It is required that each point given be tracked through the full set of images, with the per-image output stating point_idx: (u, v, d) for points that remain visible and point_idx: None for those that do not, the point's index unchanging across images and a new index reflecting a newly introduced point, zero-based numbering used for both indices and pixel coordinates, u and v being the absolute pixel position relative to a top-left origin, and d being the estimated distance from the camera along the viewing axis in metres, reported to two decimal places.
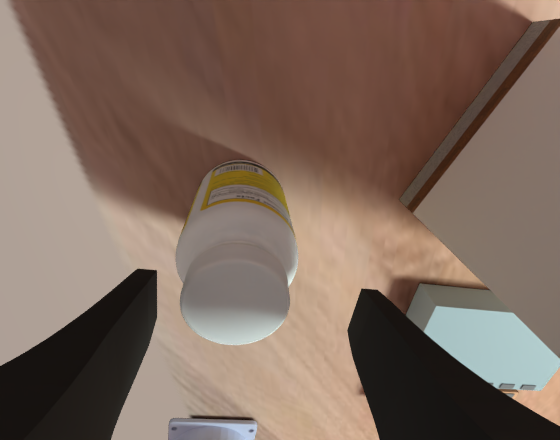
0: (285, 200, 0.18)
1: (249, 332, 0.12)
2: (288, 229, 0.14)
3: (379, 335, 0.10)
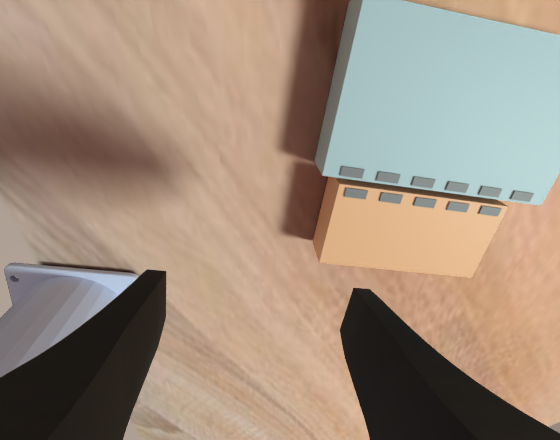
0: None
1: None
2: None
3: (370, 334, 0.10)
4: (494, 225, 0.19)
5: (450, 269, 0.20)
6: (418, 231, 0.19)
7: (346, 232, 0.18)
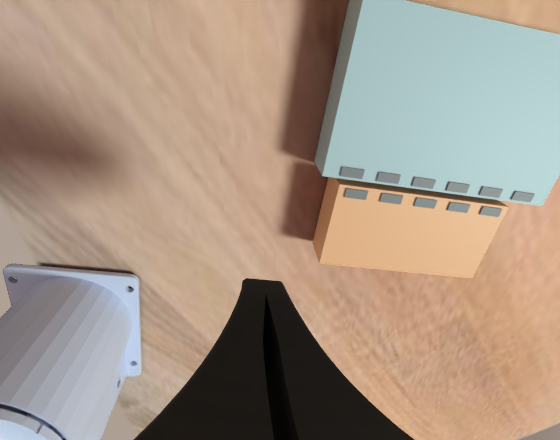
0: None
1: None
2: None
3: (266, 327, 0.09)
4: (494, 225, 0.19)
5: (451, 270, 0.20)
6: (419, 232, 0.19)
7: (346, 233, 0.18)
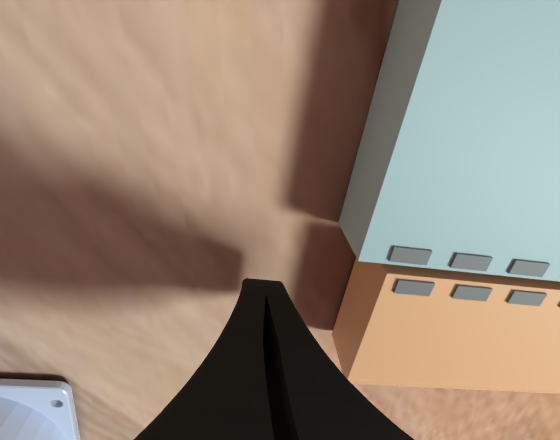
0: None
1: None
2: None
3: (266, 327, 0.09)
4: None
5: (547, 385, 0.13)
6: (508, 337, 0.11)
7: (393, 342, 0.11)
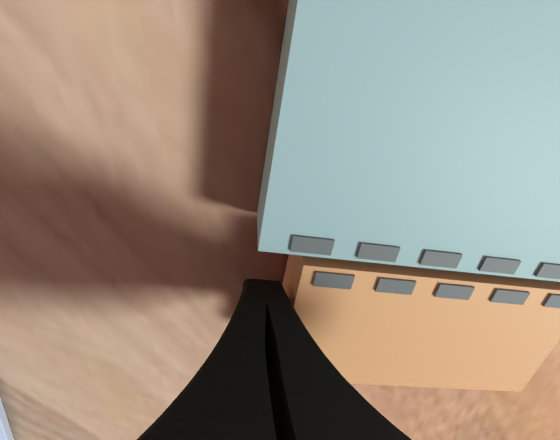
0: None
1: None
2: None
3: (265, 327, 0.09)
4: None
5: (489, 382, 0.13)
6: (441, 332, 0.11)
7: (319, 337, 0.11)
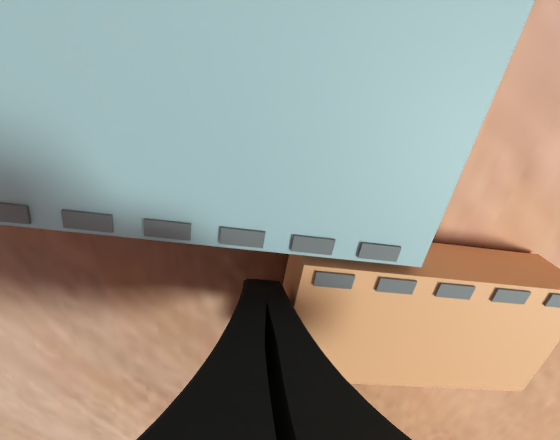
0: None
1: None
2: None
3: (265, 327, 0.09)
4: None
5: (490, 381, 0.13)
6: (442, 333, 0.11)
7: (320, 337, 0.11)
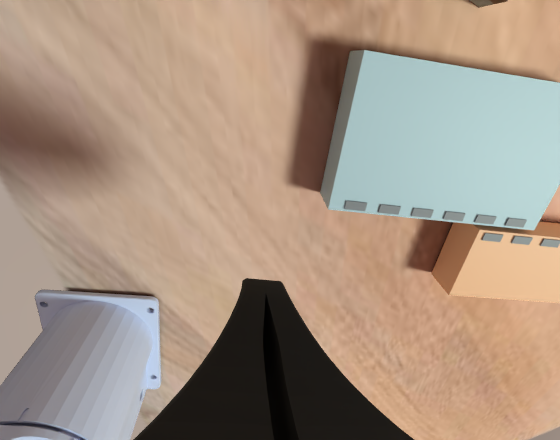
0: None
1: None
2: None
3: (266, 327, 0.09)
4: None
5: None
6: (540, 266, 0.21)
7: (477, 269, 0.21)
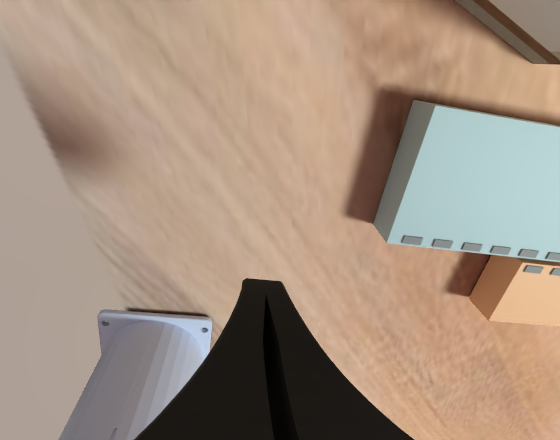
0: None
1: None
2: None
3: (266, 327, 0.09)
4: None
5: None
6: None
7: (517, 297, 0.22)
